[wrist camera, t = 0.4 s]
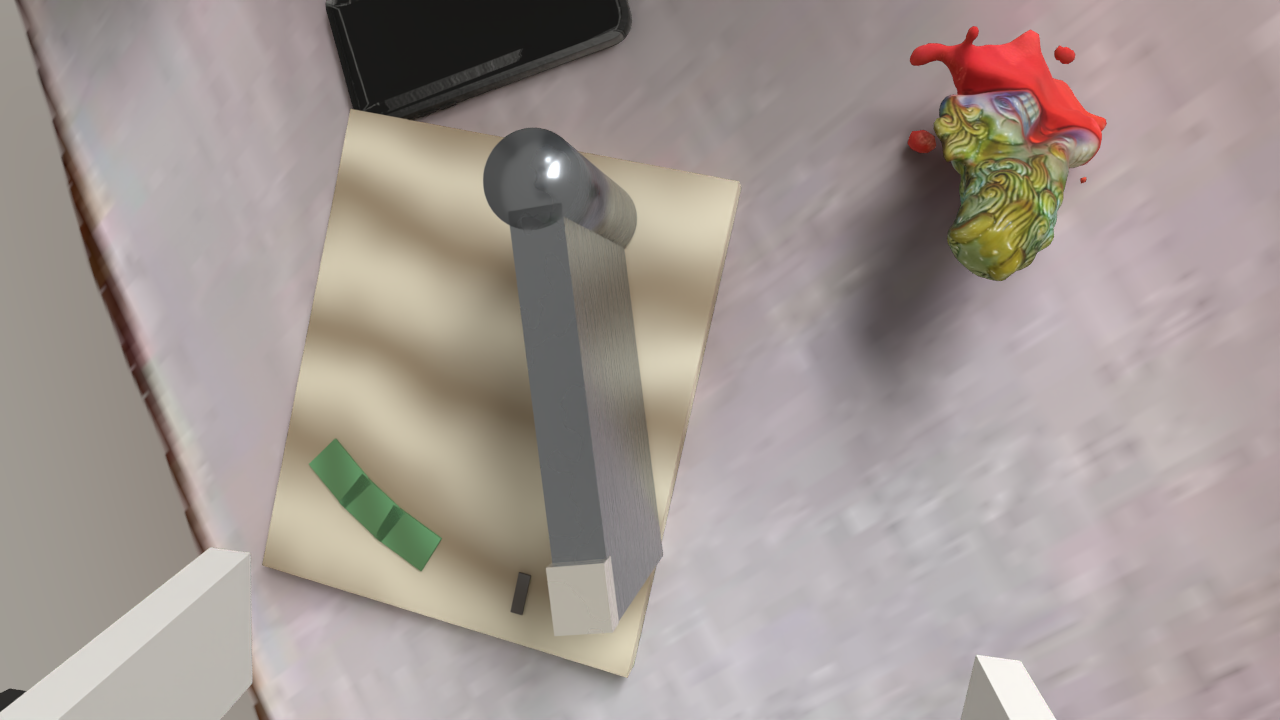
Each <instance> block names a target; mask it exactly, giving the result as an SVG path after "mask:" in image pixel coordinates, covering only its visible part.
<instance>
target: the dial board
mask: <svg viewBox="0 0 1280 720" xmlns="http://www.w3.org/2000/svg"><path fill="white" fill-rule="evenodd" d="M503 138H504V137H498V136H493V135H488V134H482V133H477V132H472V131H466V130H461V129H456V128H450V127H445V126H440V125H434V124H429V123H424V122H418V121H413V120H407V119H402V118H397V117H391V116H386V115H381V114H375V113H370V112H365V111H359V110H354V109H350V114H349V119H348V124H347V129H346V135H345V140H344V145H343V150H342V155H341V160H340V166H339V171H338V176H337V181H336V186H335V192H334V197H333V202H332V207H331V212H330V217H329V223H328V228H327V233H326V238H325V243H324V248H323V254H322V259H321V264H320V269H319V274H318V279H317V285H316V290H315V295H314V300H313V305H312V310H311V316H310V321H309V326H308V331H307V336H306V341H305V347H304V352H303V357H302V362H301V367H300V372H299V378H298V383H297V388H296V393H295V398H294V404H293V409H292V414H291V419H290V424H289V429H288V435H287V440H286V445H285V450H284V455H283V460H282V466H281V471H280V476H279V481H278V486H277V491H276V497H275V502H274V507H273V512H272V517H271V522H270V528H269V533H268V538H267V543H266V548H265V553H264V559H263V564H262V565H263V566H266V567H269V568H273V569H276V570H279V571H282V572H286V573H289V574H292V575H295V576H299V577H302V578H305V579H308V580H312V581H315V582H318V583H321V584H324V585H328V586H331V587H334V588H337V589H341V590H344V591H347V592H350V593H354V594H357V595H360V596H363V597H367V598H370V599H373V600H376V601H380V602H383V603H386V604H389V605H393V606H396V607H399V608H402V609H406V610H409V611H412V612H415V613H419V614H422V615H425V616H428V617H432V618H435V619H438V620H441V621H445V622H448V623H451V624H454V625H458V626H461V627H464V628H467V629H471V630H474V631H477V632H480V633H484V634H487V635H490V636H493V637H497V638H500V639H503V640H506V641H509V642H513V643H516V644H519V645H522V646H526V647H529V648H532V649H535V650H539V651H542V652H545V653H548V654H552V655H555V656H558V657H561V658H565V659H568V660H571V661H574V662H578V663H581V664H584V665H587V666H591V667H594V668H597V669H600V670H604V671H607V672H610V673H613V674H617V675H620V676H623V677H626V678H628V676H629V674H630V672H631V670H632V668H633V666H634V662H635V658H636V653H637V649H638V645H639V640H640V636H641V631H642V627H643V622H644V618H645V613H646V609H647V605H648V600H649V596H650V591H651V587H652V582H653V578H654V573H655V569H656V566H655V568H654V569H653V571H652V572H651V574H650V575H649V577H648V578H647V580H646V581H645V583H644V584H643V586H642V587H641V589H640V590H639V592H638V593H637V595H636V596H635V598H634V599H633V601H632V602H631V604H630V605H629V607H628V608H627V610H626V611H625V613H624V614H623V616H622V617H621V619H620V620H619V624H618V625H617V627H616V628H615V630H614V631H613V633H599V634H583V635H566V636H554V629H553V621H552V613H551V605H550V597H549V589H548V581H547V574H546V567H547V566H548V565H550V564H551V563H552V557H551V549H550V541H549V533H548V525H547V517H546V509H545V501H544V494H543V486H542V478H541V470H540V462H539V454H538V446H537V438H536V430H535V422H534V414H533V406H532V399H531V391H530V383H529V375H528V367H527V359H526V351H525V343H524V335H523V327H522V319H521V311H520V303H519V296H518V288H517V280H516V272H515V264H514V256H513V248H512V240H511V232H510V225H508V224H506V223H505V222H503V221H502V220H501V219H500V218H498V217H497V216H496V214H495V213H494V212H493V211H492V209H491V208H490V206H489V204H488V202H487V200H486V197H485V193H484V188H483V173H484V168H485V165H486V161H487V159H488V157H489V155H490V153H491V152H492V150H493V149H494V147H495V146H496V145H497V144H498V143H499V142H500V141H501V140H502V139H503ZM578 152H579V151H578ZM579 153H581V154H582V155H583V156H584V157H585V158H587V159H588V160H589V161H590V162H591V163H592V164H594V165H595V166H596V167H597V168H598V169H600V170H601V171H602V172H603V173H604V174H606V175H607V176H608V177H609V178H610V179H612V180H613V181H614V182H615V183H616V184H618V185H619V186H620V187H621V188H622V189H623V190H625V191H626V192H627V193H628V194H629V196H630V197H631V199H632V200H633V202H634V205H635V208H636V212H637V225H636V230H635V233H634V235H633V237H632V239H631V241H630V242H629V243H628V245H627V246H626V247H625V248H624V250H625V258H626V266H627V274H628V282H629V290H630V297H631V305H632V313H633V321H634V329H635V337H636V345H637V353H638V361H639V368H640V376H641V384H642V392H643V400H644V408H645V416H646V424H647V432H648V439H649V447H650V455H651V463H652V471H653V479H654V487H655V495H656V503H657V510H658V518H659V526H660V534H661V542H662V538H663V533H664V529H665V525H666V520H667V516H668V511H669V507H670V502H671V498H672V493H673V489H674V485H675V480H676V476H677V471H678V467H679V462H680V458H681V454H682V449H683V445H684V440H685V436H686V431H687V427H688V422H689V418H690V414H691V409H692V405H693V400H694V396H695V391H696V387H697V382H698V378H699V374H700V369H701V365H702V360H703V356H704V351H705V347H706V342H707V338H708V334H709V329H710V325H711V320H712V316H713V311H714V307H715V302H716V298H717V294H718V289H719V285H720V280H721V276H722V271H723V267H724V262H725V258H726V254H727V249H728V245H729V240H730V236H731V231H732V227H733V222H734V218H735V214H736V209H737V205H738V200H739V196H740V191H741V185H740V183H739V181H734V180H729V179H723V178H718V177H713V176H707V175H702V174H697V173H691V172H686V171H681V170H675V169H670V168H664V167H659V166H654V165H648V164H643V163H638V162H632V161H627V160H622V159H616V158H611V157H606V156H600V155H595V154H590V153H584V152H579Z"/></svg>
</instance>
